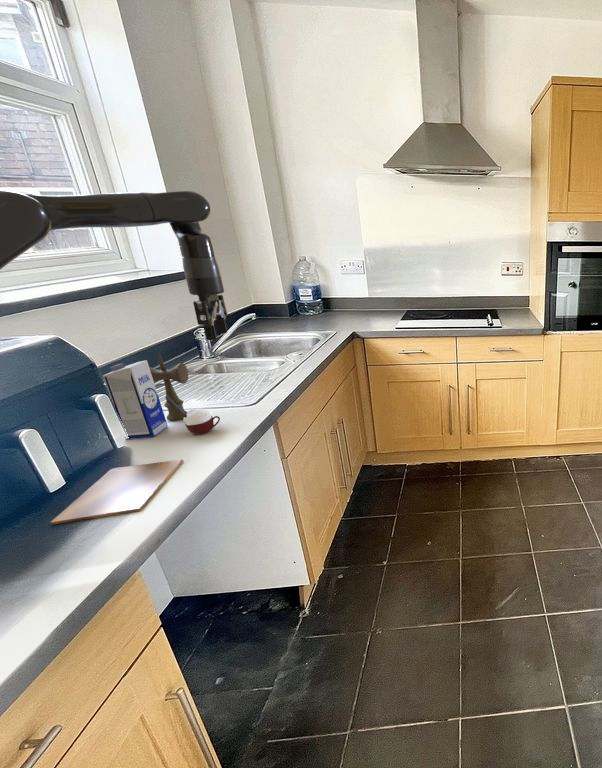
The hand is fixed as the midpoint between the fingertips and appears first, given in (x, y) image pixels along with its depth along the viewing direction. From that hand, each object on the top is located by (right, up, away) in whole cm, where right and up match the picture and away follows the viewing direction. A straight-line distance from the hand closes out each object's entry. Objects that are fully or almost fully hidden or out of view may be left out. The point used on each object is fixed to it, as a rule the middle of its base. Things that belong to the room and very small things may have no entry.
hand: (217, 336), depth 113 cm
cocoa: (-6, -27, +2) cm, 27 cm away
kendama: (-19, -23, +11) cm, 32 cm away
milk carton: (-20, -27, +1) cm, 34 cm away
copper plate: (-3, -36, -24) cm, 43 cm away
